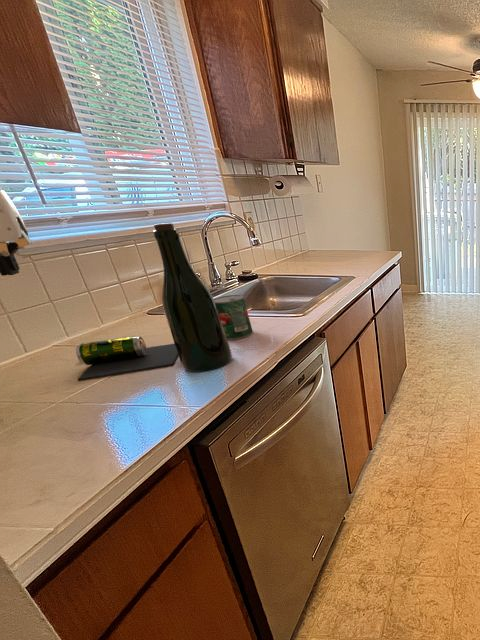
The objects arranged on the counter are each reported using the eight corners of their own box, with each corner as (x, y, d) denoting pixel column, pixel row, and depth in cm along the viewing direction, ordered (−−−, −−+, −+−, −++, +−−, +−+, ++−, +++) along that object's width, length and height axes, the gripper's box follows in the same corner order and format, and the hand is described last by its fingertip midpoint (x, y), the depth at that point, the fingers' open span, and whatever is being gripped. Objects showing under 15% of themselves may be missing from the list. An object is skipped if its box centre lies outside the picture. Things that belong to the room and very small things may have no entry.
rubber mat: (78, 380, 91) (77, 378, 91) (103, 355, 104) (102, 353, 104) (172, 365, 98) (172, 363, 98) (184, 343, 111) (184, 342, 111)
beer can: (87, 349, 100) (146, 341, 105) (88, 369, 98) (147, 359, 103) (74, 340, 95) (137, 331, 100) (75, 360, 93) (138, 350, 98)
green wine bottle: (186, 360, 100) (137, 222, 87) (233, 352, 105) (194, 220, 91) (180, 376, 92) (125, 227, 78) (232, 367, 96) (189, 223, 83)
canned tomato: (216, 339, 114) (204, 301, 109) (236, 329, 121) (225, 294, 116) (240, 340, 113) (229, 302, 108) (259, 330, 120) (249, 295, 115)
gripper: (-102, 181, 74) (-50, 280, 81) (8, 183, 79) (47, 275, 87) (-72, 181, 80) (-27, 273, 87) (28, 183, 86) (63, 268, 93)
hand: (10, 274), depth 87 cm, fingers closed
